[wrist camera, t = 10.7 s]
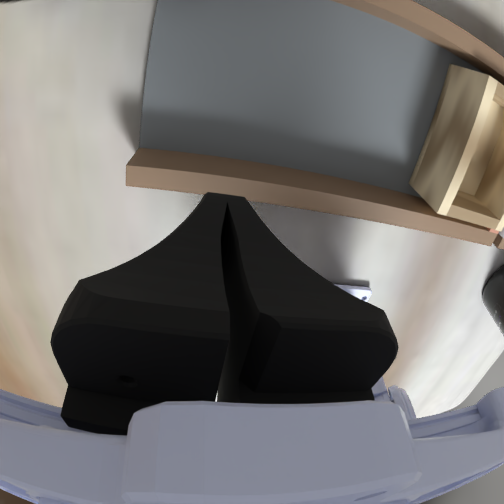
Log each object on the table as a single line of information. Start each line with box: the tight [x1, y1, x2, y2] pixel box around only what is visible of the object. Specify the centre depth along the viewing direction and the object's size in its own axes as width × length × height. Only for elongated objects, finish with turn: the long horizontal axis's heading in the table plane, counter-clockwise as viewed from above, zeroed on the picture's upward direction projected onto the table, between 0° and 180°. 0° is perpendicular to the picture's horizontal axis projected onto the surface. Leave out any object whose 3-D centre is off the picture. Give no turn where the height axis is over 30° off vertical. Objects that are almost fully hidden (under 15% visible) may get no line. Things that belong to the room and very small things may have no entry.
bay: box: [126, 0, 504, 249], centre depth 16 cm, size 13×29×5 cm, turn 79°
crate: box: [409, 64, 504, 231], centre depth 16 cm, size 9×7×4 cm
